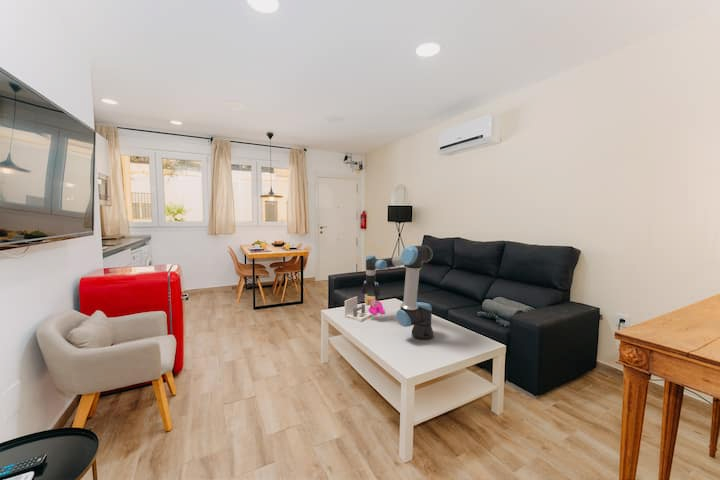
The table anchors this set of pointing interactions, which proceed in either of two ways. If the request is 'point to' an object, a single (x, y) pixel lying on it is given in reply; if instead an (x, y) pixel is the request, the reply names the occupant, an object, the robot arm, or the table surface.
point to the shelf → (355, 310)
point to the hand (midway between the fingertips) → (370, 302)
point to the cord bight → (369, 300)
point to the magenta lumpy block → (376, 308)
